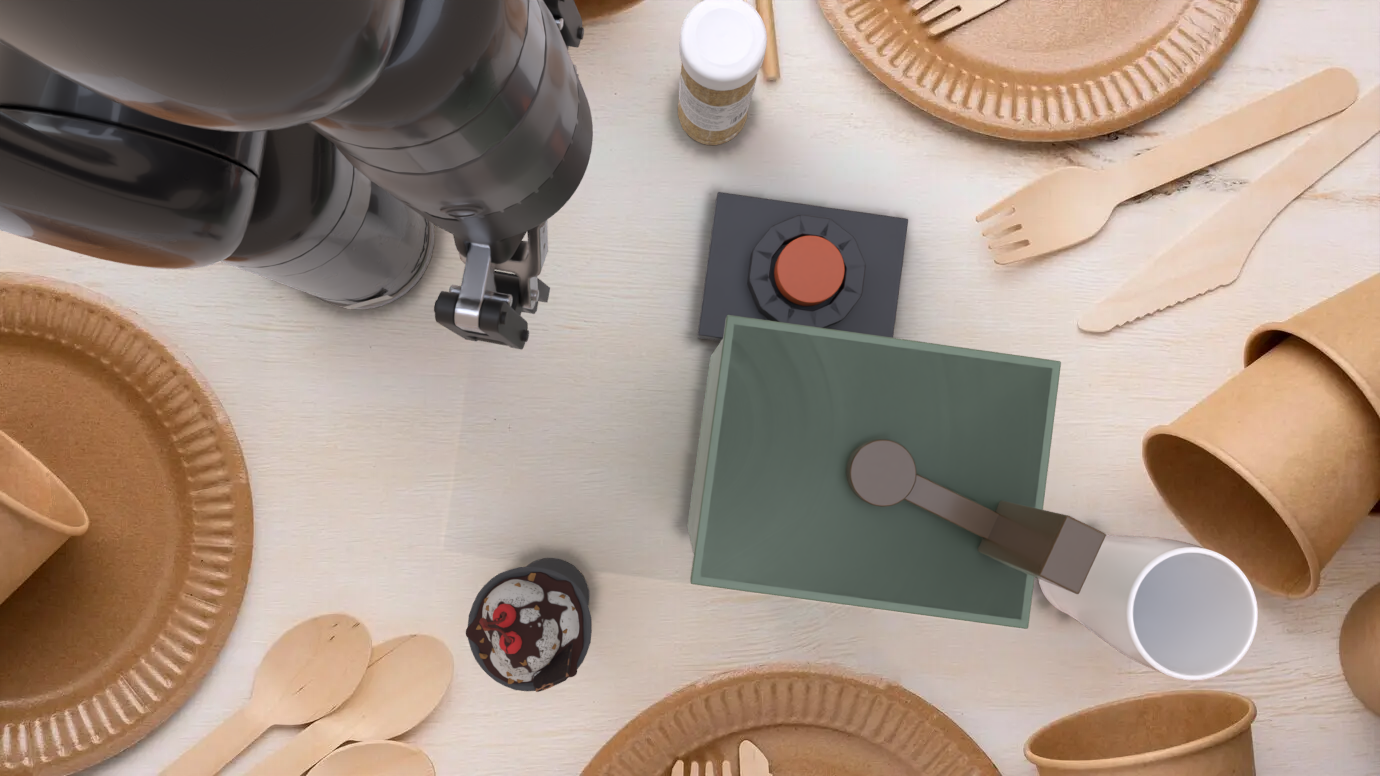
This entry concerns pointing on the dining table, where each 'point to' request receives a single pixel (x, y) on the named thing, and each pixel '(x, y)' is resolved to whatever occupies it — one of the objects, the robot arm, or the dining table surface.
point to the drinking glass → (1165, 605)
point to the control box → (756, 239)
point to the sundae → (532, 625)
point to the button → (809, 270)
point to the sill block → (815, 451)
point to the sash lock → (980, 517)
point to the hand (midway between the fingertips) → (543, 203)
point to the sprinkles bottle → (719, 68)
